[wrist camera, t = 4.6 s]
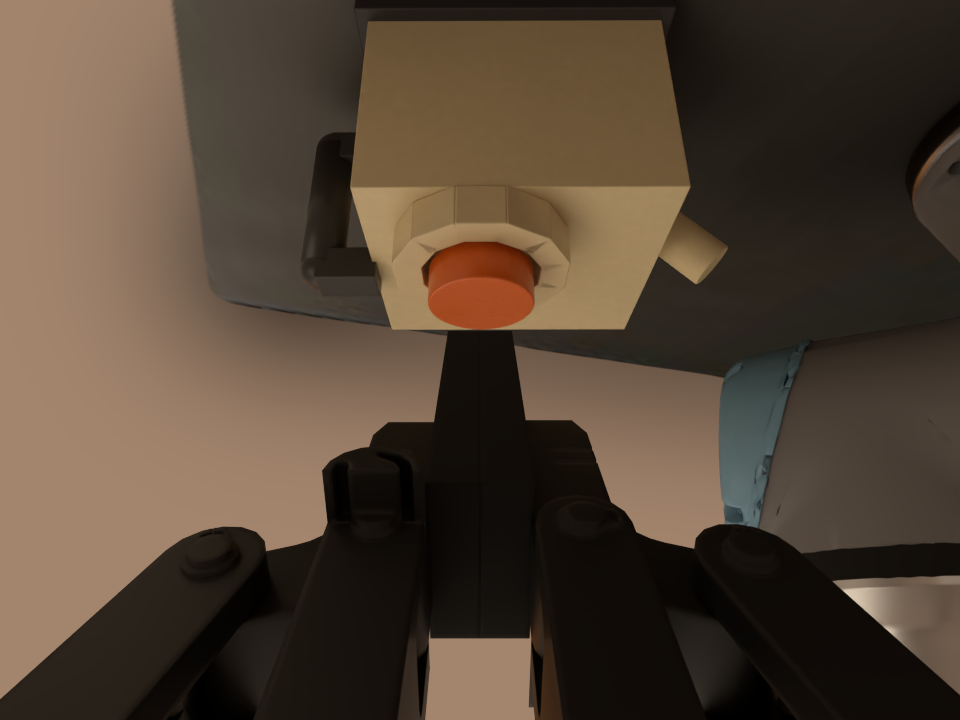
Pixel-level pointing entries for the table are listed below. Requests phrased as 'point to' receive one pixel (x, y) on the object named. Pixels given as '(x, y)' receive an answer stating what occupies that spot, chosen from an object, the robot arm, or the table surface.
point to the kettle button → (481, 285)
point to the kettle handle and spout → (330, 189)
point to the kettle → (519, 159)
